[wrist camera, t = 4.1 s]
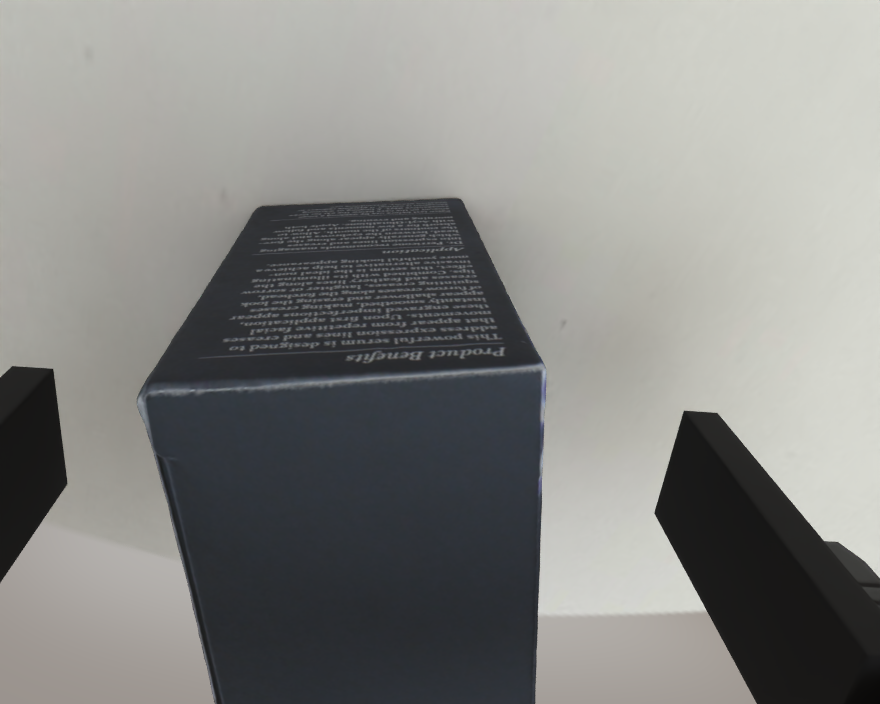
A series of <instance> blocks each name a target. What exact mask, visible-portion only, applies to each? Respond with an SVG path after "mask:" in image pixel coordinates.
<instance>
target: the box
mask: <svg viewBox="0 0 880 704" xmlns="http://www.w3.org/2000/svg"><path fill="white" fill-rule="evenodd" d="M545 400H546V367H545V365H544V363H543V361H542V359H541V357H540V356H539V354H538V352H537V351H536V349H535V347H534V345H533V343H532V341H531V339H530V337H529V335H528V333H527V330H526V329H525V327H524V326H523V324H522V322H521V320H520V318H519V316H518V314H517V312H516V310H515V308H514V306H513V304H512V302H511V300H510V297H509V295H508V294H507V292H506V290H505V287H504V285H503V283H502V281H501V279H500V277H499V275H498V273H497V271H496V269H495V267H494V264H493V263H492V260H491V258H490V257H489V255H488V253H487V250H486V248H485V246H484V244H483V242H482V240H481V238H480V235H479V233H478V232H477V230H476V227H475V226H474V223H473V221H472V219H471V217H470V216H469V214H468V212H467V210H466V208H465V205H464V203H463V201H462V200H461V199H455V198H453V199H437V200H415V201H394V202H389V201H382V202H362V203H335V204H312V205H286V206H281V205H280V206H262V207H260V208H257V209H256V210H255V211H254V212H253V214H252V216H251V218H250V219H249V221H248V222H247V224H246V226H245V227H244V229H243V230H242V232H241V233H240V235H239V237H238V238H237V240H236V241H235V243H234V245H233V246H232V248H231V250H230V251H229V253H228V254H227V256H226V258H225V259H224V260H223V262H222V263H221V265H220V267H219V268H218V270H217V271H216V273H215V275H214V276H213V278H212V279H211V281H210V282H209V284H208V285H207V287H206V289H205V290H204V292H203V294H202V296H201V297H200V299H199V300H198V302H197V303H196V305H195V306H194V308H193V309H192V310H191V312H190V314H189V315H188V317H187V319H186V320H185V322H184V323H183V325H182V327H181V328H180V329H179V331H178V332H177V333H176V335H175V336H174V338H173V339H172V341H171V343H170V345H169V346H168V348H167V350H166V351H165V353H164V354H163V356H162V357H161V359H160V360H159V362H158V364H157V365H156V367H155V368H154V370H153V371H152V372H151V374H150V375H149V377H148V378H147V380H146V381H145V383H144V385H143V387H142V389H141V390H140V392H139V394H138V397H137V406H138V409H139V412H140V415H141V417H142V419H143V421H144V423H145V426H146V429H147V433H148V436H149V439H150V442H151V446H152V449H153V452H154V456H155V460H156V463H157V467H158V471H159V475H160V478H161V482H162V486H163V489H164V493H165V496H166V499H167V502H168V506H169V511H170V516H171V520H172V525H173V529H174V533H175V538H176V541H177V545H178V549H179V553H180V556H181V560H182V564H183V567H184V570H185V574H186V579H187V583H188V587H189V591H190V595H191V601H192V605H193V610H194V614H195V618H196V622H197V626H198V631H199V637H200V640H201V644H202V649H203V653H204V658H205V661H206V665H207V669H208V674H209V678H210V684H211V689H212V694H213V697H214V702H215V704H535V683H536V649H537V629H538V594H539V572H540V535H541V509H542V469H543V447H544V413H545Z"/></svg>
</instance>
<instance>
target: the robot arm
mask: <svg viewBox="0 0 880 704" xmlns="http://www.w3.org/2000/svg"><path fill="white" fill-rule="evenodd" d="M66 485H67V476H66V468H65V460H64V452H63V444H62V436H61V428H60V419H59V411H58V403H57V395H56V387H55V379H54V371H53V369H47V368H32V367H17V366H12V367H11V368H10V369H9V370H8V371H7V372H6V373H5V374H4V375H3V376H2V377H0V582H1V581H2V579H3V578H4V576H5V575H6V573H7V572H8V570H9V569H10V568H11V566H12V565H13V563H14V562H15V560H16V559H17V557H18V556H19V554H20V553H21V551H22V550H23V548H24V547H25V546H26V544H27V542H28V541H29V540H30V538H31V537H32V535H33V534H34V532H35V531H36V529H37V528H38V526H39V525H40V523H41V522H42V521H43V519H44V518H45V516H46V515H47V513H48V512H49V510H50V509H51V507H52V506H53V504H54V503H55V501H56V500H57V498H58V497H59V496H60V494H61V493H62V491H63V490H64V488H65V487H66ZM655 515H656V517H657V519H658V521H659V523H660V525H661V526H662V528H663V530H664V532H665V534H666V536H667V538H668V539H669V541H670V543H671V545H672V547H673V549H674V551H675V552H676V554H677V556H678V558H679V560H680V562H681V564H682V565H683V567H684V569H685V571H686V573H687V575H688V577H689V578H690V580H691V582H692V584H693V586H694V588H695V590H696V591H697V593H698V595H699V597H700V599H701V601H702V603H703V604H704V606H705V608H706V610H707V612H708V614H709V615H710V617H711V619H712V621H713V623H714V625H715V627H716V629H717V630H718V632H719V634H720V636H721V638H722V640H723V641H724V643H725V645H726V647H727V649H728V651H729V653H730V654H731V656H732V658H733V660H734V662H735V663H736V666H737V667H738V669H739V671H740V673H741V675H742V677H743V679H744V681H745V682H746V684H747V686H748V688H749V690H750V692H751V693H752V695H753V697H754V699H755V701H756V703H757V704H880V578H879V577H878V576H877V575H876V574H875V573H874V571H873V570H872V569H871V568H870V567H869V566H868V565H867V563H866V562H865V561H863V560H862V559H861V558H859V557H858V556H856V555H855V554H854V553H852V552H851V551H849V550H848V549H847V548H845V547H844V546H843V545H841V544H840V543H838V542H827V541H823V540H822V538H821V537H820V536H819V535H818V533H817V532H816V531H815V530H814V529H813V527H812V526H811V525H810V524H809V523H808V521H807V520H806V519H805V518H804V517H803V515H802V514H801V513H800V512H799V511H798V509H797V508H796V507H795V506H794V505H793V503H792V502H791V501H790V500H789V499H788V497H787V496H786V495H785V494H784V493H783V491H782V490H781V489H780V488H779V487H778V485H777V484H776V483H775V482H774V481H773V479H772V478H771V477H770V476H769V475H768V473H767V472H766V471H765V470H764V469H763V467H762V466H761V465H760V464H759V463H758V461H757V460H756V459H755V458H754V457H753V455H752V454H751V453H750V452H749V451H748V449H747V448H746V447H745V446H744V445H743V443H742V442H741V441H740V440H739V439H738V437H737V436H736V435H735V434H734V433H733V431H732V430H731V429H730V428H729V427H728V425H727V424H726V423H725V422H724V421H723V419H722V418H721V417H720V416H719V415H718V413H710V412H695V411H684V412H683V416H682V419H681V423H680V426H679V430H678V433H677V437H676V440H675V443H674V447H673V450H672V454H671V457H670V461H669V464H668V468H667V471H666V475H665V478H664V482H663V485H662V488H661V492H660V495H659V499H658V502H657V506H656V509H655Z"/></svg>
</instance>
